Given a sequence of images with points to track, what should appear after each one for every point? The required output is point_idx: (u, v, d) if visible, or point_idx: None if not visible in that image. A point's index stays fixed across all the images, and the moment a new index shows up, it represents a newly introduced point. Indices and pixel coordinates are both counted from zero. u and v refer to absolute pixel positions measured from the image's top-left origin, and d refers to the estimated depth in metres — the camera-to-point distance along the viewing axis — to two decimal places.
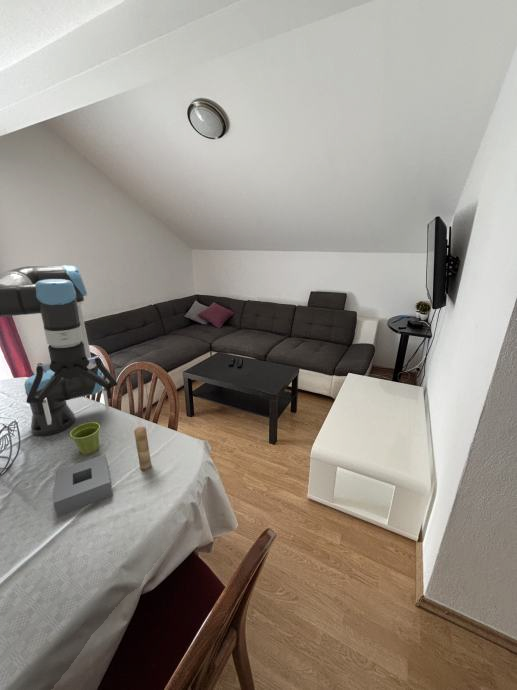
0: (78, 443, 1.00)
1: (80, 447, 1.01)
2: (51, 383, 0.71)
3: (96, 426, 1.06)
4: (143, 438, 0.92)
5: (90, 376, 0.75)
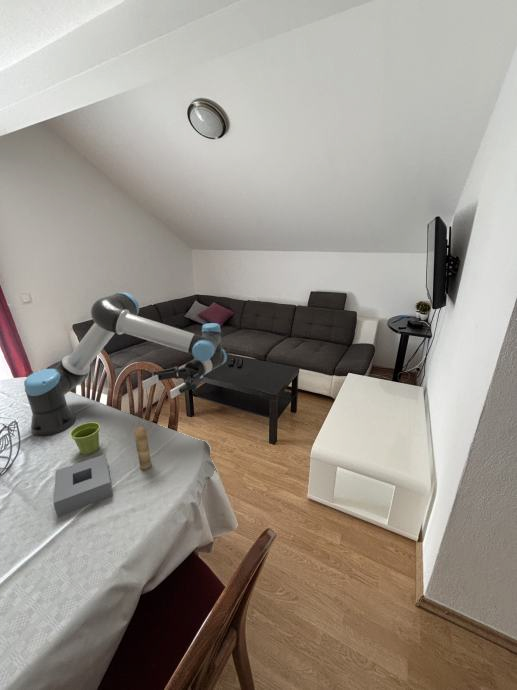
0: (78, 443, 1.00)
1: (80, 447, 1.01)
2: None
3: (96, 426, 1.06)
4: (143, 438, 0.92)
5: None
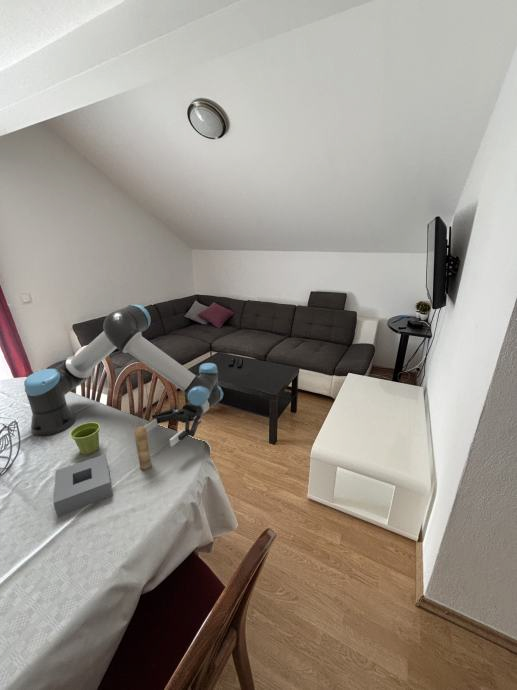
0: (78, 443, 1.00)
1: (80, 447, 1.01)
2: None
3: (96, 426, 1.06)
4: (143, 438, 0.92)
5: None
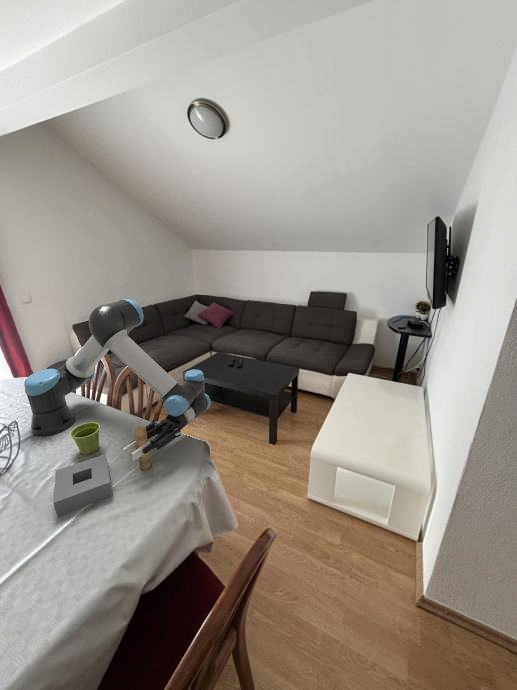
0: (78, 443, 1.00)
1: (80, 447, 1.01)
2: None
3: (96, 426, 1.06)
4: (143, 438, 0.92)
5: None
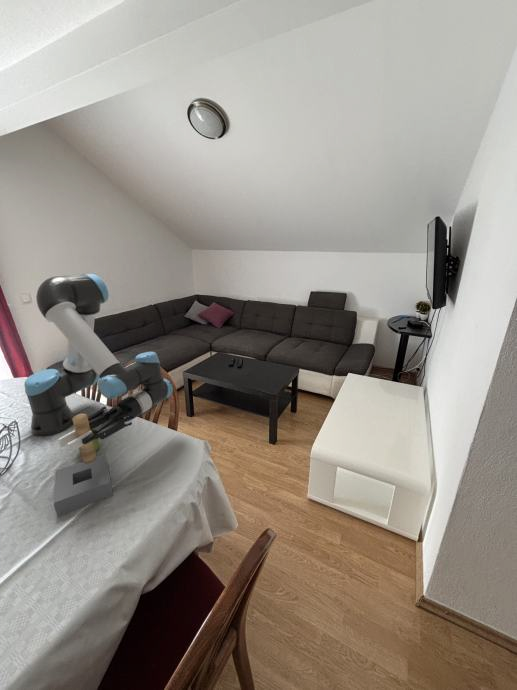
0: None
1: None
2: None
3: None
4: (83, 427, 0.80)
5: None
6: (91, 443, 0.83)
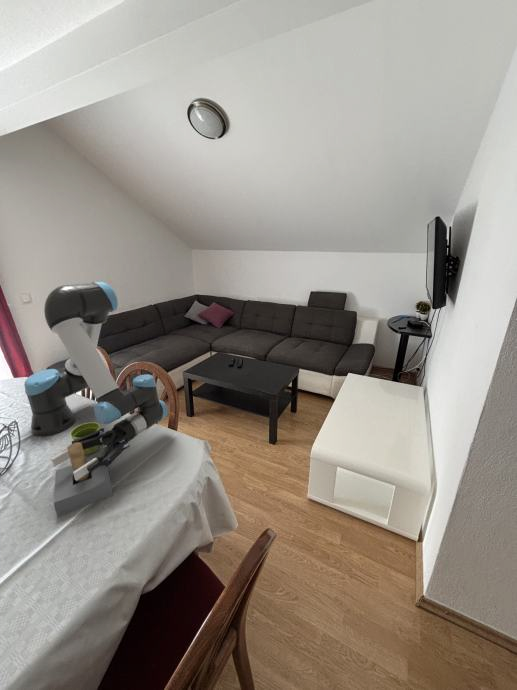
0: None
1: None
2: None
3: (96, 426, 1.06)
4: (78, 456, 0.83)
5: None
6: None
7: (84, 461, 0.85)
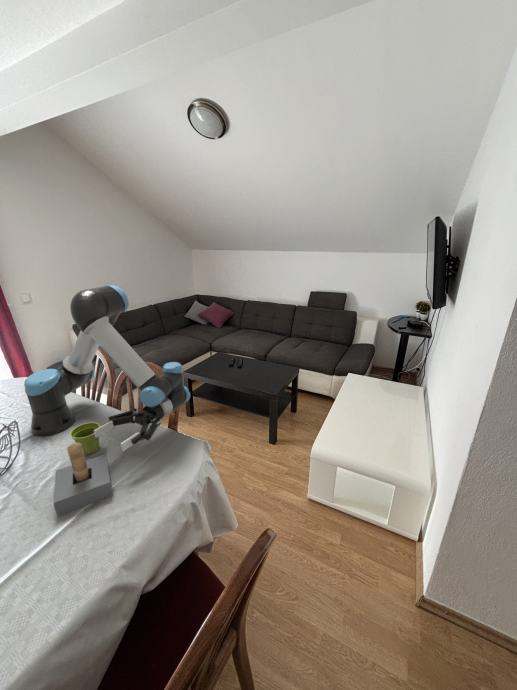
0: None
1: None
2: None
3: (96, 426, 1.06)
4: (78, 456, 0.82)
5: None
6: (86, 471, 0.86)
7: (84, 461, 0.85)
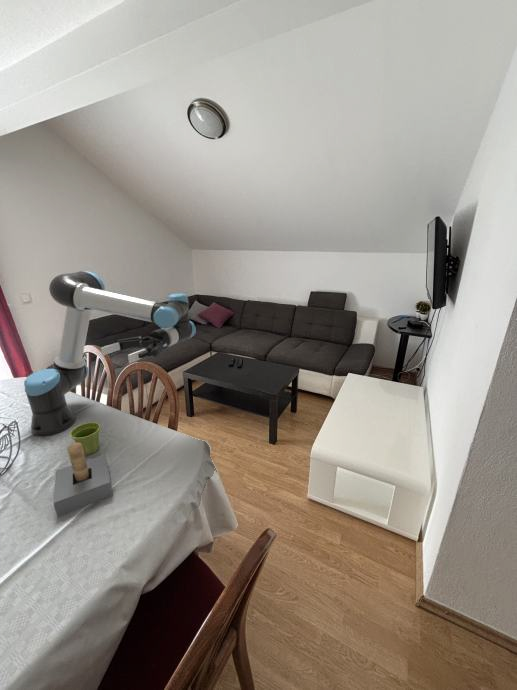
0: None
1: None
2: None
3: (96, 426, 1.06)
4: (78, 456, 0.83)
5: None
6: (86, 471, 0.86)
7: (84, 461, 0.85)
